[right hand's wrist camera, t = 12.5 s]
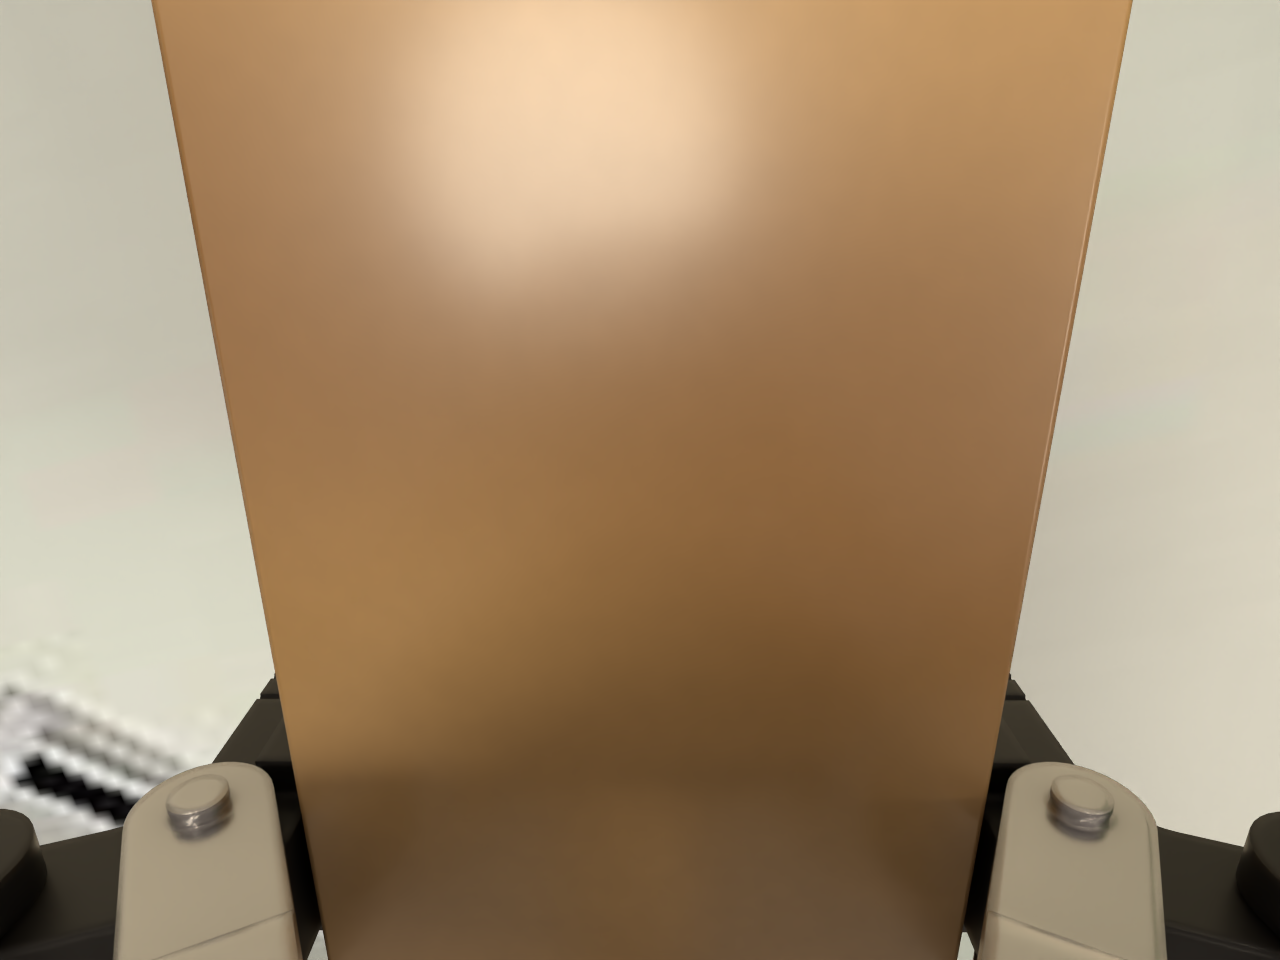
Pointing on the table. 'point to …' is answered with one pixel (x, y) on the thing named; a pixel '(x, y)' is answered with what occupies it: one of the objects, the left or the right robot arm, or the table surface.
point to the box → (642, 444)
